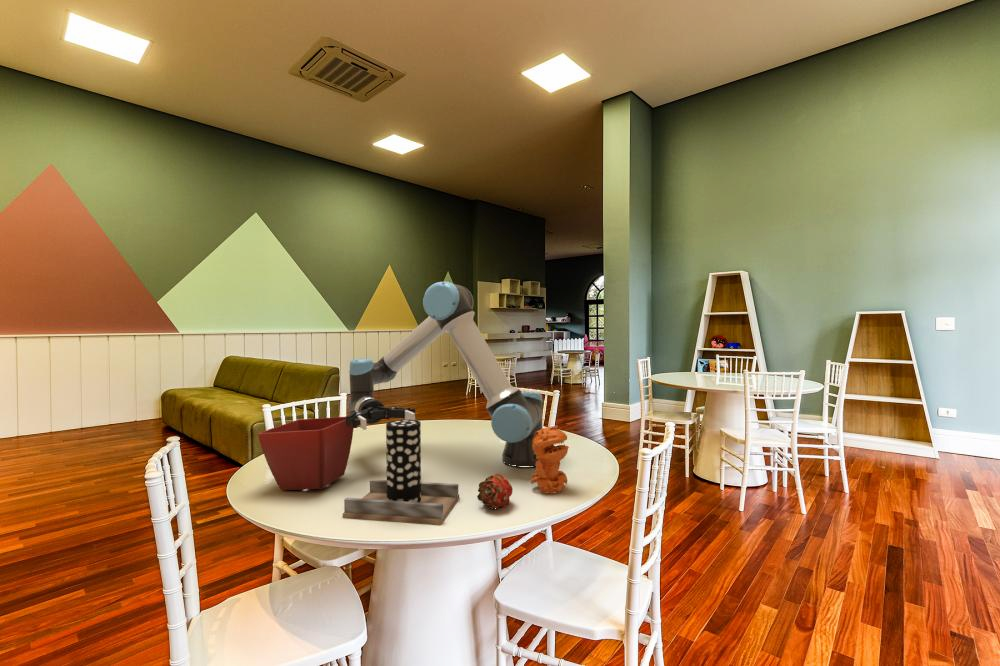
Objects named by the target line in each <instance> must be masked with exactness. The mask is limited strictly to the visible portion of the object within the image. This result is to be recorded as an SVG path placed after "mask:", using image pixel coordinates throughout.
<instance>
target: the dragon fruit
mask: <svg viewBox="0 0 1000 666" xmlns="http://www.w3.org/2000/svg"><path fill="white" fill-rule="evenodd" d="M477 492H478V494H477V495H476V497H477V500H478V501H480V502H482V504H483V505H485V506H487V507H488V508H490V509H492V510H494V509H495V508H496V510H498V509H499V508H500V506H501V507H505V506H506V507H508V506H509V504H510V498H511V496H512V495H513V486H512V484H511V483H510V482H509V480H508V479H507V478H505V477H504V476H503V475H502V474H500V473H495V474H494V475H489V476H487V477H486V478H485V480H484V481H481V482H479V483H478V489H477Z"/></svg>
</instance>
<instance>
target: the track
mask: <svg viewBox="0 0 1000 666" xmlns="http://www.w3.org/2000/svg"><path fill="white" fill-rule="evenodd" d="M458 499H460V494H459V483H448V482H447V483H443V482H429V481H427V482H426V481H425V482H424V481H421V502H405V501H390V500H387V479H377V478H375V479H373V478H372V479H370V480H369V492H368V493H367V494H365V495H364V496H363V497H362V498H359V497H358V498H355V497H345V499H344V501H343V502H344V503H343V504H344V505H343V506H344V507H343V509H344V512H343V513H342V518H343V519H354V520H355V519H356V520H367V521H368V520H371V521H382V522H397V523H398V522H399V523H409V524H411V523H412V524H423V525H435V526H436V525H437V526H441V525H442V524H443V523H444V521H445V520H446V518H447V516H448V515H449V514H450V512H451V511H452V509H453V508H454V506H455V505H457V503H458V501H459V500H458Z"/></svg>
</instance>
